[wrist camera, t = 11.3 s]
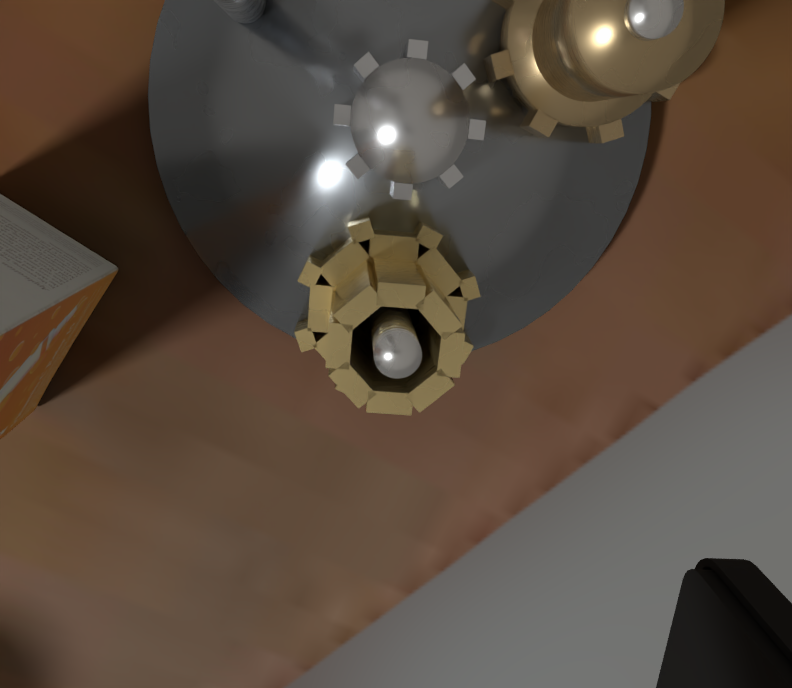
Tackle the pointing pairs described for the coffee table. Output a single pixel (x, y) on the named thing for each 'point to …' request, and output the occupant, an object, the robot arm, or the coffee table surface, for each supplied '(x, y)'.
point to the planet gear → (391, 287)
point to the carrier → (413, 139)
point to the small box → (40, 305)
